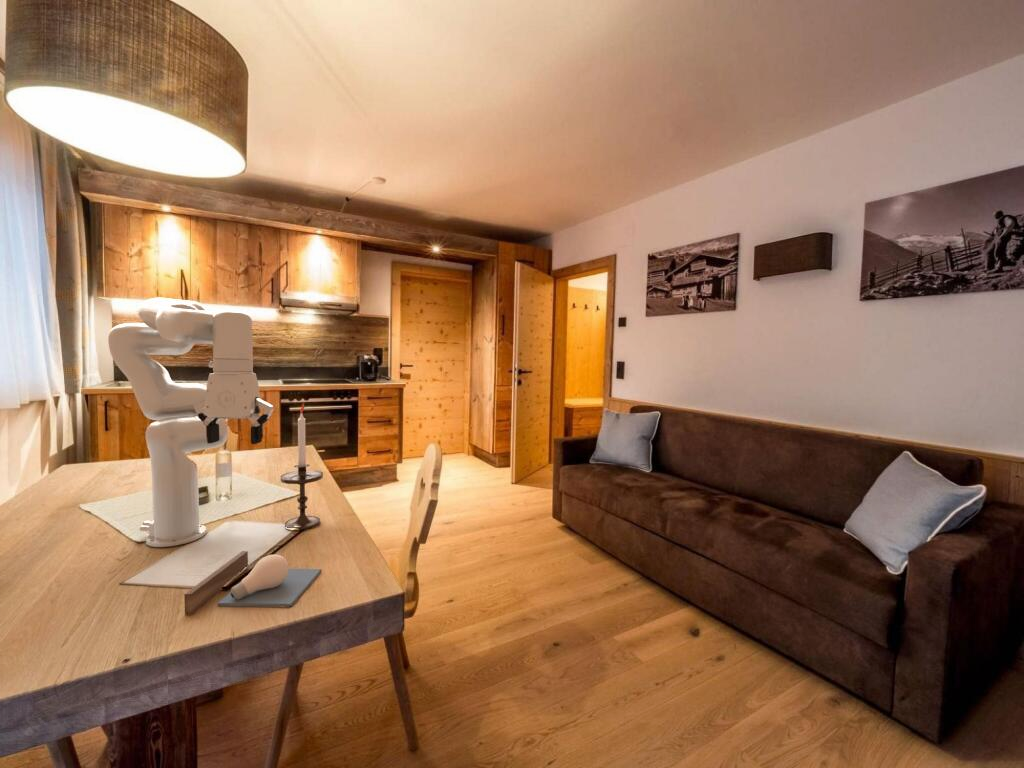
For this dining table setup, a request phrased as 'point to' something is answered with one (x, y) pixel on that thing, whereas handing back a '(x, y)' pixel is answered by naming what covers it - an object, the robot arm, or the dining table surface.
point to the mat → (277, 591)
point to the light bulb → (262, 576)
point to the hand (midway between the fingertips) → (235, 442)
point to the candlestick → (302, 481)
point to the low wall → (214, 583)
